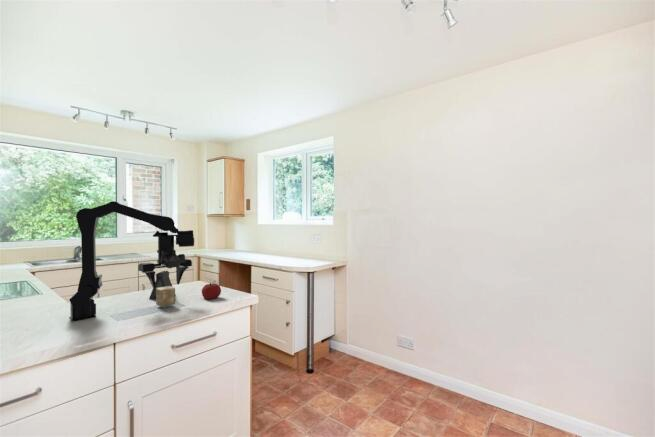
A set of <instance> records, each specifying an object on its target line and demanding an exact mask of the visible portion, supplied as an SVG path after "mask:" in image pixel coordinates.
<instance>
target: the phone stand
mask: <svg viewBox="0 0 655 437" xmlns="http://www.w3.org/2000/svg"><path fill="white" fill-rule="evenodd" d="M166 286H171V287H173V283H172V282H171V279H170V272H169V271H168V270H163V271H160V272H157V273H155V288H153V287H152V289H151V291H150V292H151V293H150V296H149V298H148V299H149V300H156V288H160V287H166ZM175 297H176V294H175Z"/></svg>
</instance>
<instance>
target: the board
mask: <svg viewBox="0 0 655 437" xmlns="http://www.w3.org/2000/svg"><path fill="white" fill-rule="evenodd" d="M182 307H187V305H186V304H183V303H181V302H179V301H176V300H175V304H173V305H170V307H166V308H163V307H161V306H158V305H151V306H146V307H145V306H144V307H140V308H136V309H132V310H131V309H130V310H126V311H122V312H116V313H112V314H109V317H111V318H113V320H114V321H117V322H119V321H120V322H121V321H123V320H124V321H125V320H129V319H133V318H134V319H135V318H137V317H143V316H147V315H151V314H156V313H160V312H164V311H169V310H174V309H177V308H178V309H179V308H182Z"/></svg>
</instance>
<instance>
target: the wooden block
mask: <svg viewBox="0 0 655 437" xmlns="http://www.w3.org/2000/svg"><path fill="white" fill-rule="evenodd" d="M175 295H176V288H175V287H174V286H172V287H171V286H166V287H160V288H156V298H155V302H156V303H155V304H156V305H158V306H161V307H164V306H168V305H173V304H175V301H176V296H175Z"/></svg>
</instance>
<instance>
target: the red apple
mask: <svg viewBox="0 0 655 437" xmlns="http://www.w3.org/2000/svg"><path fill="white" fill-rule="evenodd" d="M221 294H222V289H221V286H220V285H219V284H218V283H212V282H209V283H207V284H205V285H203V287H202V289H201V295H202V297H203V298H204V299H206V300H210V301H211V300H214V299H218V298H219V297H220V295H221Z"/></svg>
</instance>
